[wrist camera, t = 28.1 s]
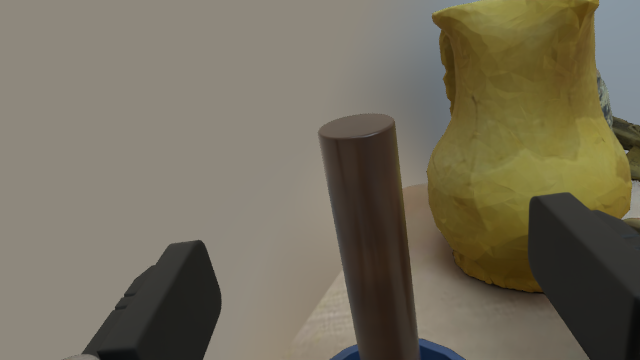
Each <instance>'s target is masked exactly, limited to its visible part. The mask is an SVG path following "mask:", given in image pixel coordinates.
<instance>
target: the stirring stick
mask: <svg viewBox="0 0 640 360" xmlns="http://www.w3.org/2000/svg"><path fill="white" fill-rule="evenodd" d="M318 137H319V143H320V148H321V153H322V158H323V164H324V169H325V175H326V179H327V185H328V190H329V196H330V201H331V207H332V212H333V217H334V223H335V228H336V233H337V239H338V244H339V249H340V254H341V260H342V265H343V271H344V276H345V282H346V287H347V292H348V298H349V303H350V308H351V314H352V319H353V324H354V330H355V335H356V340H357V346H358V351H359V356H360V360H421V358H420V349H419V339H418V330H417V321H416V312H415V303H414V294H413V284H412V275H411V266H410V257H409V248H408V239H407V229H406V220H405V211H404V202H403V193H402V183H401V174H400V165H399V156H398V147H397V138H396V128H395V121H394V119H393V118H392V117H390V116H388V115H383V114H360V115H352V116H347V117H343V118H339V119H336V120H333V121H331V122H329V123H327V124H325V125H323V126H322V127H321V128H320V129H319V131H318Z"/></svg>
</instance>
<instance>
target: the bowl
mask: <svg viewBox="0 0 640 360" xmlns="http://www.w3.org/2000/svg"><path fill="white" fill-rule="evenodd" d="M418 339H419V349H420V358H421V360H466V359H464V358H463V357H461V356H460V355H458V354H457V353H455V352H454V351H452V350H451V349H449V348H447V347H444V346H441V345H438V344H436V343H433V342H430V341H427V340H424V339H420V338H418ZM330 360H360V356H359V351H358V346H357V344H356V345H353V346H351V347H348V348H346V349H344V350H342V351H341V352H340V353H338V354H337V355H335V356H334V357H333V358H331V359H330Z"/></svg>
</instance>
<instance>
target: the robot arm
mask: <svg viewBox="0 0 640 360" xmlns="http://www.w3.org/2000/svg"><path fill="white" fill-rule="evenodd" d="M528 260H529V265H530V269H531V272H532V274H533V276H534V278H535V280H536V281H537V283H538V284H539V286H540V287H541V289H542V290H543V292H544V293H545V295H546V296H547V298H548V299H549V300H550V302H551V303H552V305H553V306H554V308H555V309H556V311H557V312H558V314H559V315H560V316H561V318H562V319H563V321H564V322H565V324H566V325H567V327H568V328H569V330H570V331H571V332H572V334H573V335H574V337H575V338H576V340H577V341H578V343H579V344H580V346H581V347H582V348H583V350H584V351H585V353H586V354H587V356H588V357H589V359H590V360H640V236H639V233H638V232H636V231H635V230H634V229H633V228H631V227H630V226H629V225H628V224H626V223H625V222H624V221H623V220H621V219H619V218H616V217H614V216H611V215H609V214H607V213H604V212H602V211H600V210H590V209H589V208H587V207H586V206H585V205H584V204H583V203H582V202H580V201H579V200H578V199H577V198H576V197H575V196H573V195H572V194H571V193H569V192H563V193H555V194H548V195H540V196H533V197H532V198H531V200H530V203H529V223H528ZM220 311H221V292H220V288H219V285H218V282H217V279H216V276H215V273H214V270H213V267H212V264H211V261H210V258H209V255H208V252H207V249H206V247H205V245H204V243H203V242H202V241H200V240H196V241H189V242H181V243H174V244H170V245H169V246H168V247H167V249H166V250H165V251H164V253H163V255H162V256H161V257H160V259H159V260H158V262H157V263H156V265H153V266H151V267H150V268H148V269H147V270H146V271H145V272H143V273H142V274H141V275H140V276H139V277H137V278H136V279H135V280H134V281H133V283H132V284H131V286H130V287H129V288H128V290H127V291H126V293H125V294H124V297H123V298H121V300H120V301H119V302H118V304H117V305H116V306H115V310H113V311H112V312H111V313H110V315H109V316H108V318H107V319H106V320H105V322H104V323H103V325H102V326H101V327H100V329H99V330H98V332H97V333H96V334H95V336H94V337H93V338H92V340H91V341H90V343H89V344H88V345H87V347H86V348H85V350H84V351H83V353H82V354H81V355H75V356H71V357H68V358H66V359H63V360H203V358H204V355H205V352H206V350H207V347H208V344H209V341H210V339H211V336H212V334H213V331H214V328H215V326H216V323H217V320H218V318H219V315H220Z"/></svg>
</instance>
